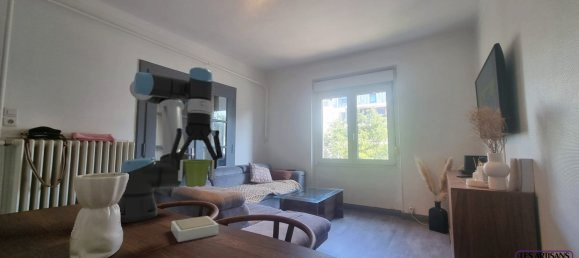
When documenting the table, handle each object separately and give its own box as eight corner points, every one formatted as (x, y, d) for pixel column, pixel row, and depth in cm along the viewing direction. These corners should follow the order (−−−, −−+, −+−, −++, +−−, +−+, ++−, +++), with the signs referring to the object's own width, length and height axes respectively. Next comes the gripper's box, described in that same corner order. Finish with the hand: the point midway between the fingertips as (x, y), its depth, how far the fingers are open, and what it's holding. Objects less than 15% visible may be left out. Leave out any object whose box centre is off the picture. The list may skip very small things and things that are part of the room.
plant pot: (216, 184, 83) (217, 159, 83) (198, 189, 74) (200, 160, 74) (193, 183, 85) (194, 159, 86) (174, 187, 76) (175, 160, 77)
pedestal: (171, 230, 80) (171, 220, 80) (207, 224, 87) (207, 215, 87) (178, 242, 70) (178, 230, 70) (218, 234, 77) (218, 223, 77)
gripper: (164, 108, 72) (160, 183, 70) (233, 115, 85) (231, 178, 83) (161, 111, 78) (157, 180, 76) (226, 117, 91) (224, 176, 89)
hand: (196, 179), depth 80 cm, fingers closed on plant pot, 9 cm apart
